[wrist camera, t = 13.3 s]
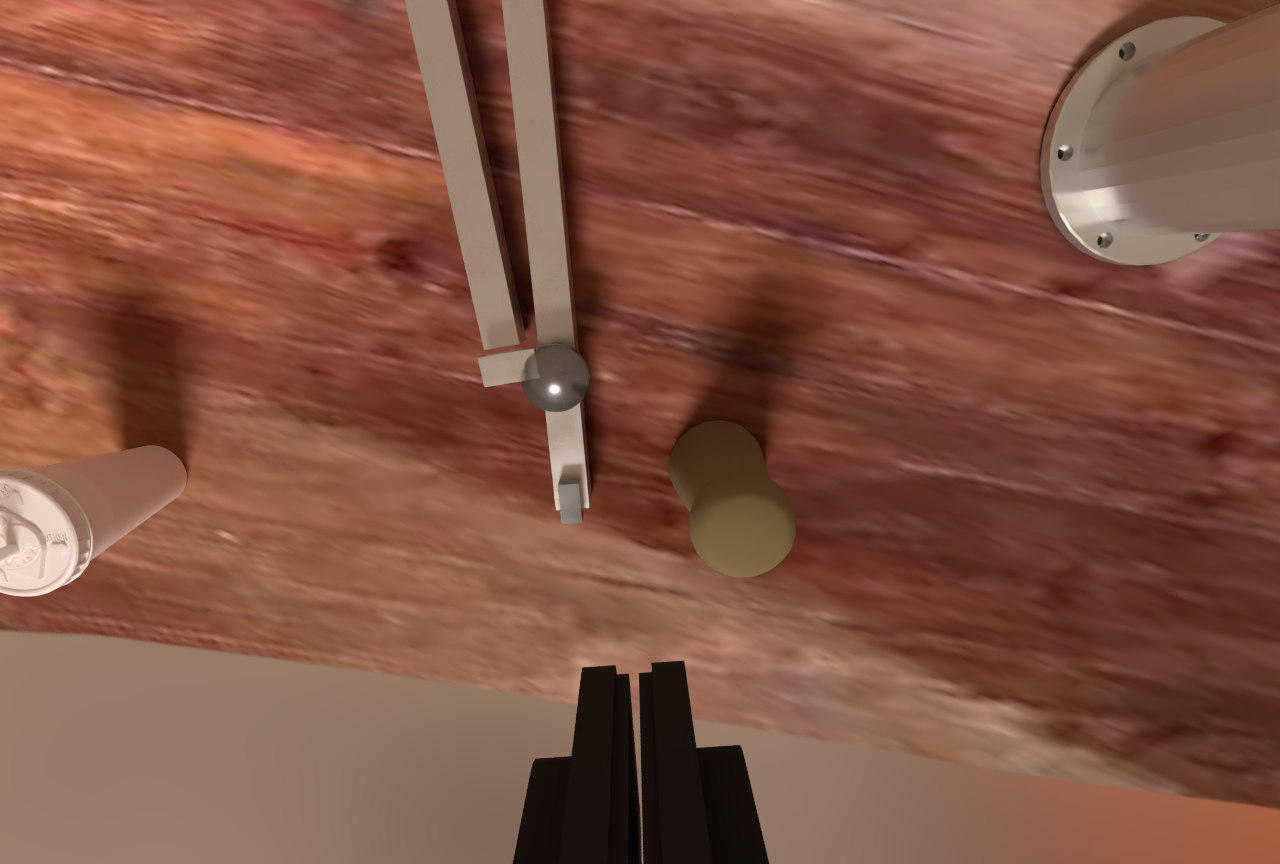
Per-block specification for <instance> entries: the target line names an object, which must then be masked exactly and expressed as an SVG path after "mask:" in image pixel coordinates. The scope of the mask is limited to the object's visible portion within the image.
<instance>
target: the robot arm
mask: <svg viewBox="0 0 1280 864" xmlns="http://www.w3.org/2000/svg"><path fill="white" fill-rule="evenodd" d="M1057 153H1058V154H1057ZM1040 173H1041V187H1042V191H1043V195H1044V199H1045V203H1046V206H1047V209H1048V211H1049V213H1050V215H1051V217H1052V219H1053V221H1054V223H1055V225H1056V226H1057V227H1058V229H1059V230H1060V231H1061V233H1062V234H1063V235H1064V237H1065V238H1066V239H1067V240H1068V241H1069V242H1071V243H1072V244H1073V245H1074V246H1075V247H1077V248H1078V249H1079V250H1080V251H1082V252H1084V253H1086V254H1088V255H1090V256H1092V257H1094V258H1096V259H1098V260H1101V261H1105V262H1109V263H1113V264H1117V265H1150V264H1161V263H1165V262H1168V261H1172V260H1176V259H1180V258H1182V257H1184V256H1187V255H1189V254H1191V253H1193V252H1195V251H1198V250H1200V249H1202V248H1203V247H1205V246H1206V245H1208V244H1209V243H1211V242H1212V241H1214V240H1215V239H1217V238H1218V237H1220V236H1221V235H1222V234H1223V233H1224V232H1240V231H1257V230H1273V229H1280V3H1278V4H1275V5H1273V6H1271V7H1268V8H1266V9H1263V10H1261V11H1258V12H1256V13H1253V14H1251V15H1249V16H1246V17H1244V18H1241V19H1239V20H1236V21H1234V22H1231V23H1229V24H1228V23H1226V22H1223V21H1219V20H1216V19H1212V18H1209V17H1205V16H1177V17H1171V18H1165V19H1160V20H1157V21H1154V22H1152V23H1149V24H1146V25H1144V26H1141V27H1139V28H1136V29H1134V30H1132V31H1130V32H1128V33H1126V34H1124V35H1122V36H1120V37H1119V38H1117V39H1115V40H1113V41H1112V42H1110V43H1109V44H1108V45H1106V46H1105V47H1103V48H1102V49H1101V50H1099V51H1098V52H1097V53H1095V54H1094V55H1093V56H1092V57H1091V58H1090V59H1089V60H1088V61H1087V62H1086V63H1085V64H1084V65H1083V66H1082V67H1081V68H1080V69H1079V70H1078V71H1077V72H1076V73H1075V75H1074V76H1073V78H1072V79H1071V81H1070V82H1069V83H1068V85H1067V86H1066V88H1065V89H1064V90H1063V92H1062V93H1061V95H1060V97H1059V99H1058V101H1057V103H1056V105H1055V107H1054V109H1053V111H1052V113H1051V115H1050V118H1049V122H1048V125H1047V128H1046V131H1045V135H1044V138H1043V144H1042V151H1041V159H1040ZM639 692H640V730H641V731H640V734H641V774H642V775H641V776H642V816H643V817H642V818H643V857H644V858H643V861H644V864H769V861H768V857H767V852H766V848H765V844H764V840H763V835H762V831H761V827H760V823H759V818H758V814H757V810H756V805H755V801H754V797H753V793H752V789H751V784H750V780H749V776H748V771H747V767H746V763H745V759H744V755H743V751H742V748H741V746H740V745H733V746H718V747H704V748H696V742H695V735H694V728H693V721H692V713H691V706H690V699H689V692H688V685H687V678H686V670H685V664H684V661H672V662H657V663H652V672H647V673H639ZM637 781H638V780H637V767H636V755H635V743H634V730H633V718H632V705H631V693H630V680H629V674H618V675H617V672H616V666H615V665H612V666H598V667H583V668H582V672H581V681H580V689H579V698H578V706H577V714H576V723H575V731H574V741H573V748H572V756H569V757H554V758H540V759H535V760H534V762H533V765H532V769H531V774H530V778H529V783H528V789H527V794H526V799H525V804H524V809H523V814H522V819H521V824H520V829H519V834H518V840H517V845H516V850H515V855H514V860H513V864H642V862H641V822H640V805H639V793H638V782H637Z"/></svg>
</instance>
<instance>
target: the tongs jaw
mask: <svg viewBox="0 0 1280 864" xmlns="http://www.w3.org/2000/svg"><path fill="white" fill-rule="evenodd" d="M405 3H406V8H407V12H408V16H409V21H410V25H411V30H412V34H413V39H414V43H415V47H416V52H417V56H418V61H419V65H420V69H421V74H422V78H423V83H424V87H425V91H426V96H427V100H428V105H429V109H430V114H431V118H432V122H433V127H434V131H435V136H436V140H437V144H438V149H439V153H440V158H441V162H442V166H443V171H444V175H445V180H446V184H447V189H448V193H449V197H450V202H451V206H452V211H453V215H454V219H455V224H456V228H457V233H458V237H459V241H460V246H461V250H462V255H463V259H464V264H465V268H466V272H467V277H468V281H469V286H470V290H471V294H472V299H473V303H474V308H475V312H476V316H477V321H478V325H479V330H480V334H481V339H482V343H483V347H484V350H487V349H493V348H499V347H505V346H511V345H517V344H520V343H522V342H523V341H525V340H526V334H525V330H524V325H523V320H522V315H521V310H520V306H519V301H518V296H517V291H516V287H515V282H514V277H513V272H512V267H511V263H510V258H509V253H508V248H507V243H506V239H505V234H504V229H503V224H502V219H501V215H500V210H499V205H498V200H497V195H496V191H495V186H494V181H493V176H492V171H491V167H490V162H489V157H488V152H487V147H486V143H485V138H484V133H483V128H482V123H481V119H480V114H479V109H478V104H477V99H476V95H475V90H474V85H473V80H472V75H471V71H470V66H469V61H468V56H467V52H466V47H465V42H464V37H463V32H462V28H461V23H460V18H459V13H458V8H457V4H456V0H405ZM478 361H479V366H480V370H481V374H482V379H483V383H484V387H489V386H495V385H501V384H507V383H513V382H519V381H522V386H523V390H524V392H525V394H526V396H527V397H528V399H529V400H530V401H531V402H532V403H533V404H534V405H536V406H537V407H539V408H541V409H543V410H546V411H549V412H563V411H567V410H569V409H571V408H573V407H575V406H576V405H578V404H579V403H580V402H581V400H582V399H583V398H584V396H585V394H586V392H587V390H588V386H589V382H590V373H589V368H588V365H587V363H586V361H585V359H584V358H583V357H582V355H581V354H580V353H579V352H577V351H576V350H575V349H573V348H571V347H569V346H566V345H563V344H549V345H545V346H543V347H541V348H539V349H537V350H536V347H530V348H524V349H518V350H512V351H506V352H500V353H494V354H488V355H482V356H480V357H478Z"/></svg>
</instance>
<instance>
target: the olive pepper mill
mask: <svg viewBox="0 0 1280 864" xmlns="http://www.w3.org/2000/svg"><path fill="white" fill-rule="evenodd" d="M669 472H670V479H671V481H672V483H673V486H674V488H675V490H676V492H677V493H678V495H679V496H680V498H681V500H682V501H683V503H684V504H685V506H686V507H687V509H688V510H689V512H690V515H689V518H688V519H689V532H690V538H691V541H692V543H693V545H694V547H695V550H696V552H697V553H698V554H699V556H700V557H701V558H702V559H703V560H704V561H705V562H706V563H707V564H708V565H709V566H710V567H711V568H713V569H715V570H717V571H718V572H720V573H722V574H724V575H729V576H734V577H739V578H740V577H751V576H757V575H759V574H762V573H764V572H767V571H769V570H771V569H772V568H774V567H775V566H776V565H777V564H779V563H780V562H781V561H782V560H783V559H784V558H785V556H786V555H787V553H788V552H789V551H790V549H791V547H792V544H793V541H794V538H795V535H796V521H795V512H794V509H793V507H792V504H791V501H790V499H789V498H788V496H787V495H786V494H785V493H784V491H783V490H782V489H781V488H780V487H779V486H778V485H777V483H775V482H773V481H772V480H770V479H769V476H768V472H767V468H766V465H765V461H764V457H763V453H762V451H761V448H760V446H759V443H758V441H757V440H756V439H755V438H754V437H753V435H752V434H751V433H750V432H749V431H748V430H746V429H745V428H743V427H741V426H740V425H738V424H736V423H732V422H728V421H723V420H716V421H706V422H703V423H701V424H699V425H696V426H694V427H692V428H690V429H689V430H688V431H687V432H686V433H684V434H683V435H682V436H681V437H680V438H679V440H678V441H677V443H676V444H675V446H674V448H673V449H672V453H671V457H670V461H669Z"/></svg>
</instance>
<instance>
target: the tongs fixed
mask: <svg viewBox="0 0 1280 864" xmlns="http://www.w3.org/2000/svg"><path fill="white" fill-rule="evenodd" d="M502 6H503V16H504V25H505V35H506V44H507V54H508V63H509V72H510V82H511V91H512V101H513V110H514V119H515V129H516V138H517V148H518V157H519V167H520V176H521V185H522V195H523V204H524V214H525V223H526V233H527V242H528V251H529V261H530V270H531V280H532V289H533V298H534V308H535V317H536V327H537V336H538V346H539V348H541V347H543V346H545V345H549V344H563V345H566V346H569V347H571V348H573V349H575V350H576V351H577V352H579V344H578V333H577V322H576V311H575V299H574V288H573V277H572V266H571V255H570V244H569V233H568V222H567V211H566V199H565V188H564V177H563V166H562V155H561V144H560V133H559V122H558V110H557V99H556V88H555V77H554V66H553V55H552V44H551V33H550V21H549V10H548V0H502ZM545 412H546V421H547V430H548V440H549V449H550V459H551V468H552V478H553V487H554V496H555V506H556V510H560V513H561V522H562V524H570V523H582V521H583V508H589V507H590V501H591V495H592V489H591V477H590V466H589V455H588V444H587V433H586V422H585V411H584V400H583V399H582V400H581V402H580V403H579V404H578V405H576V406H575V407H573V408H571V409H569V410H567V411H563V412H549V411H546V410H545Z"/></svg>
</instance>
